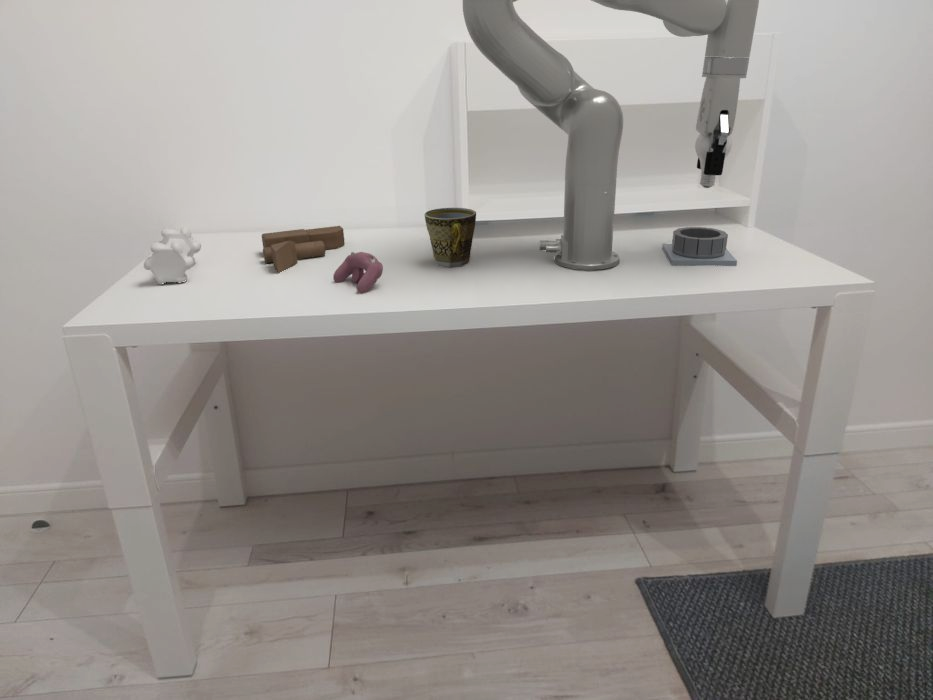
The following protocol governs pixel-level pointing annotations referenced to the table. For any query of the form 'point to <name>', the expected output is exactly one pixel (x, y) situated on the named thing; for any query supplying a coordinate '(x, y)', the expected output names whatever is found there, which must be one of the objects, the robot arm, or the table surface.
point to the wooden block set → (299, 245)
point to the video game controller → (360, 270)
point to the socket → (699, 247)
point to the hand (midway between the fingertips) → (708, 170)
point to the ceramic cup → (451, 235)
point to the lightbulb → (701, 151)
